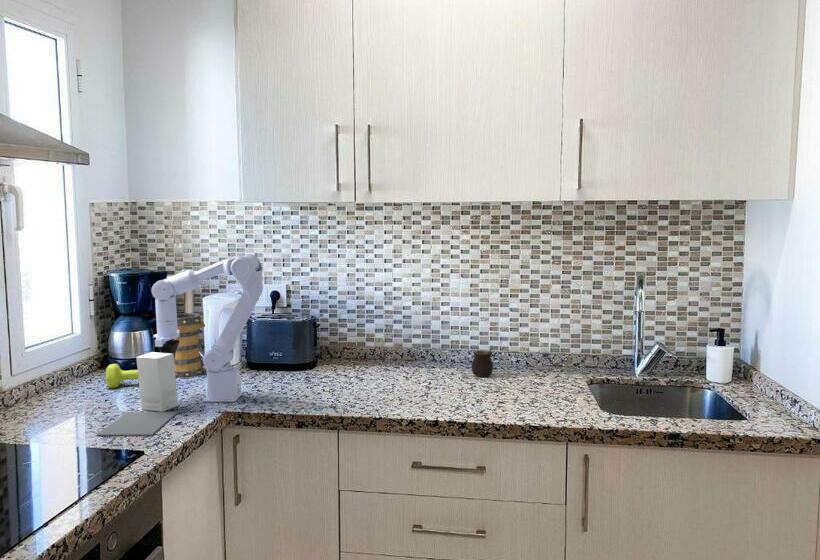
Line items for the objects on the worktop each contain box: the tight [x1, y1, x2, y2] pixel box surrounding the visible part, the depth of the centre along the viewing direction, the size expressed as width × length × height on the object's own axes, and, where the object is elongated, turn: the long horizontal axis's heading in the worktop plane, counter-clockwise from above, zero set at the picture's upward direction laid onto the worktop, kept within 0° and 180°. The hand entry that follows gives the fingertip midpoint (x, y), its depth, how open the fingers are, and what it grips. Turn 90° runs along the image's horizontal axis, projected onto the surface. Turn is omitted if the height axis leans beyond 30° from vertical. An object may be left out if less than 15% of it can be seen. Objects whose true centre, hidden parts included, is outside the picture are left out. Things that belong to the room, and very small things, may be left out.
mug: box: [174, 312, 206, 379], centre depth 234 cm, size 13×17×20 cm
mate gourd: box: [471, 347, 494, 378], centre depth 227 cm, size 7×8×10 cm
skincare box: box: [136, 351, 179, 412], centre depth 196 cm, size 8×7×16 cm
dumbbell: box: [105, 363, 139, 389], centre depth 220 cm, size 16×8×7 cm, turn 101°
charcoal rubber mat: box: [96, 411, 178, 437], centre depth 183 cm, size 14×18×1 cm
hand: (169, 365), depth 205 cm, fingers closed
